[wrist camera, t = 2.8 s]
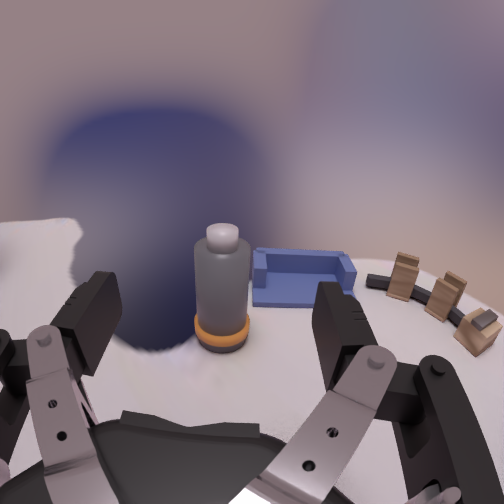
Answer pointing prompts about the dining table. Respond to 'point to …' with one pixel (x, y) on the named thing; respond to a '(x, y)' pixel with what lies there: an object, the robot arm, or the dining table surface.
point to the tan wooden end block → (478, 330)
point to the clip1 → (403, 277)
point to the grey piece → (222, 288)
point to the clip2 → (445, 296)
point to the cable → (413, 294)
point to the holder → (297, 276)
